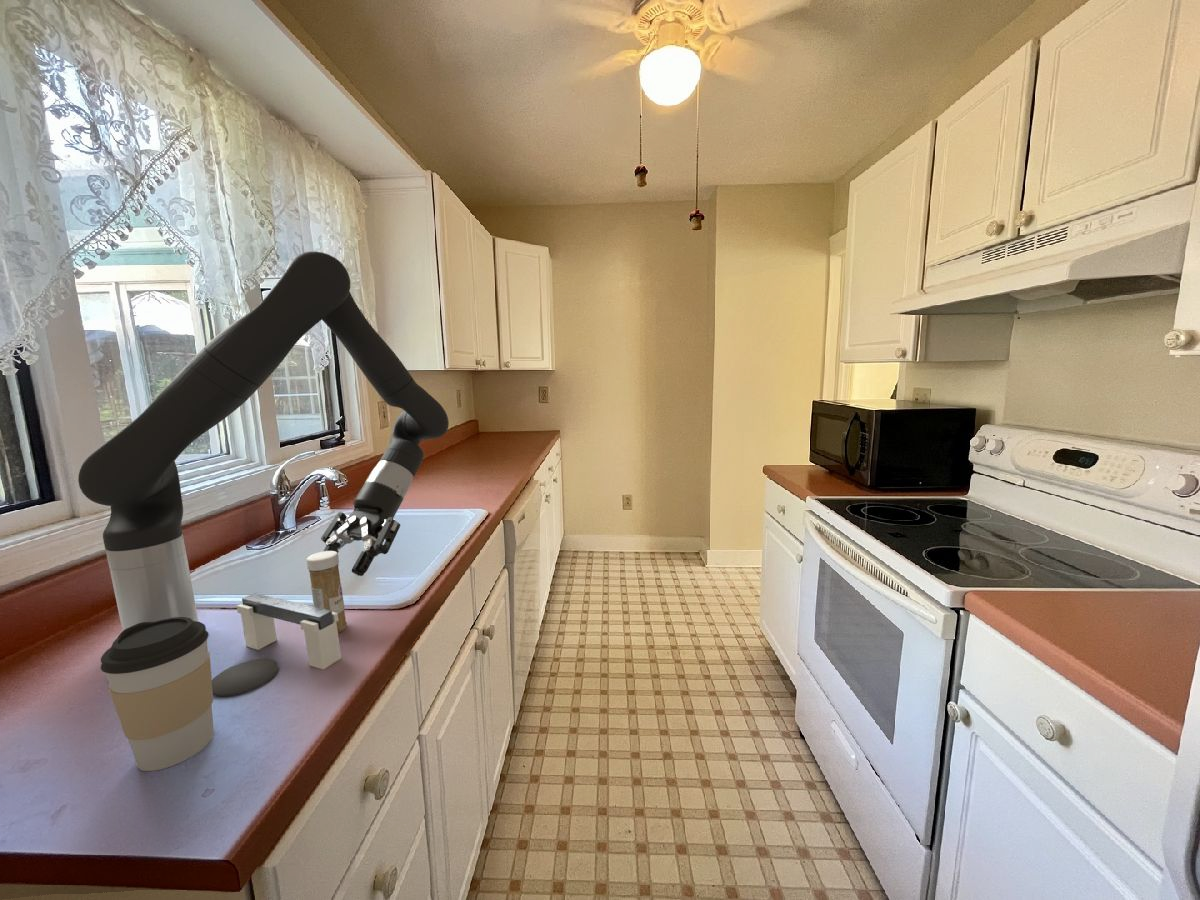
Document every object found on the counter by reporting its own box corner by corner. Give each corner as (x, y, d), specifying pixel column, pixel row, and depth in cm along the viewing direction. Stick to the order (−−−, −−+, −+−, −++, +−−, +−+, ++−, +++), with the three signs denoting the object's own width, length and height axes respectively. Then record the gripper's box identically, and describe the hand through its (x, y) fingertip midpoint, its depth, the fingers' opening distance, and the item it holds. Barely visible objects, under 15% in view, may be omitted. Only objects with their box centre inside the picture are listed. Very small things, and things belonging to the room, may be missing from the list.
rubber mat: (196, 689, 67) (195, 685, 67) (256, 657, 74) (255, 654, 74) (231, 702, 64) (231, 698, 64) (290, 668, 71) (290, 664, 71)
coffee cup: (244, 724, 60) (224, 612, 57) (164, 785, 51) (137, 655, 49) (187, 715, 62) (166, 606, 59) (101, 772, 53) (72, 647, 51)
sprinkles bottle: (348, 631, 81) (339, 555, 79) (317, 640, 79) (306, 562, 77) (345, 620, 85) (336, 547, 83) (316, 628, 83) (305, 553, 80)
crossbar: (243, 610, 77) (241, 598, 77) (256, 604, 79) (254, 593, 79) (320, 629, 70) (319, 617, 70) (333, 623, 72) (331, 610, 72)
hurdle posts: (243, 647, 77) (236, 605, 76) (267, 635, 81) (261, 595, 80) (320, 671, 70) (314, 625, 69) (343, 656, 74) (337, 612, 73)
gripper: (344, 477, 91) (294, 557, 83) (400, 481, 86) (353, 567, 77) (370, 497, 97) (326, 574, 88) (425, 502, 91) (383, 584, 83)
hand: (338, 570), depth 83 cm, fingers open, 8 cm apart
